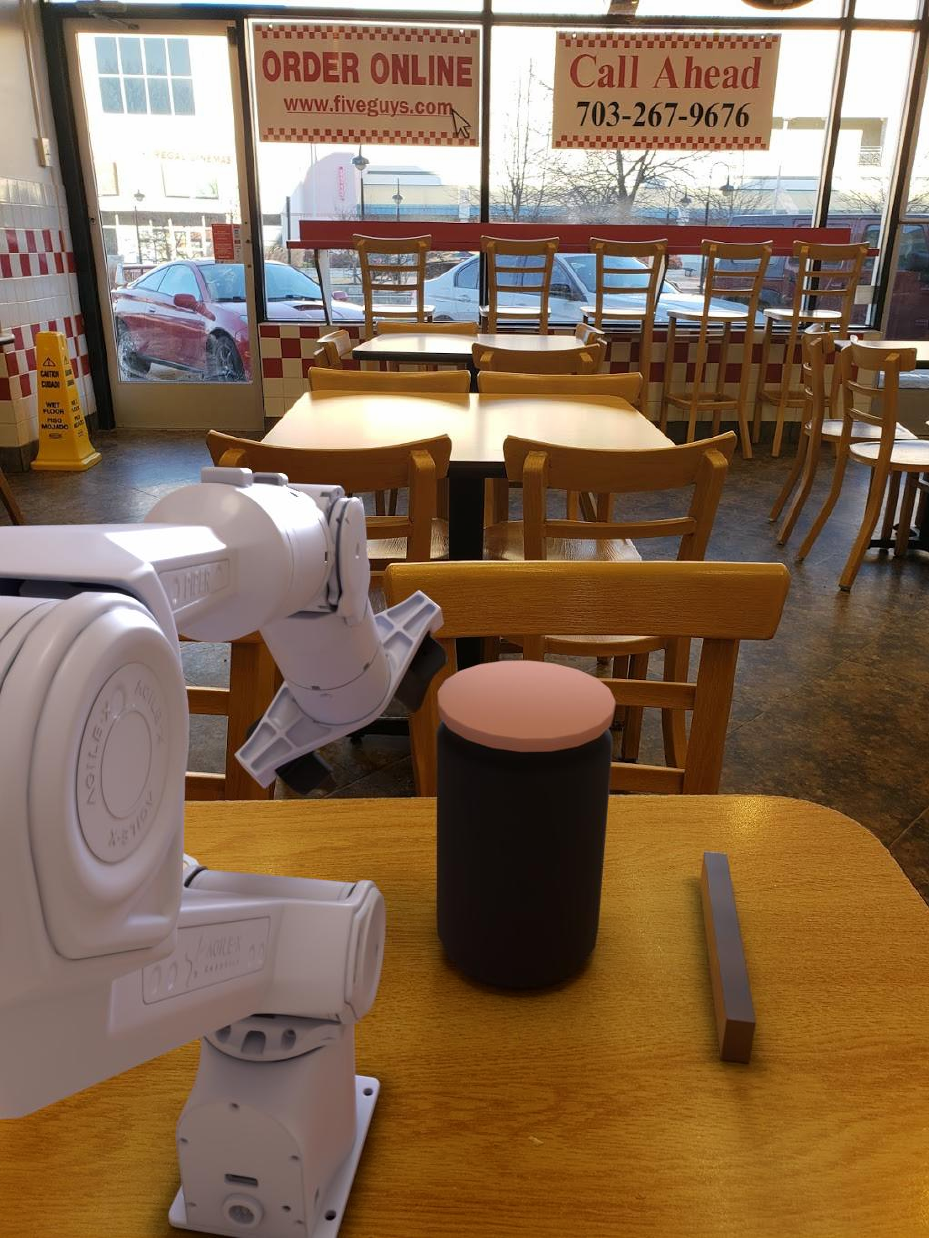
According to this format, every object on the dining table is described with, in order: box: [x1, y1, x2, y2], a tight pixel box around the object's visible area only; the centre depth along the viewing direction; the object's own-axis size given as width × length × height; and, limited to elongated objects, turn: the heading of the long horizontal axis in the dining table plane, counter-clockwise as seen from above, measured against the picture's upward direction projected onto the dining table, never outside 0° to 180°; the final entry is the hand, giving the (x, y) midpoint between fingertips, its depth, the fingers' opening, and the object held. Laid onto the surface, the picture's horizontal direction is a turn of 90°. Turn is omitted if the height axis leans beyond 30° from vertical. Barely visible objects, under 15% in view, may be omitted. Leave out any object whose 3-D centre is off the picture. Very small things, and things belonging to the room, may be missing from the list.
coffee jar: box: [436, 660, 617, 991], centre depth 59 cm, size 11×11×18 cm
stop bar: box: [699, 851, 757, 1064], centre depth 60 cm, size 16×2×3 cm, turn 171°
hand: (366, 740), depth 62 cm, fingers open, 7 cm apart
